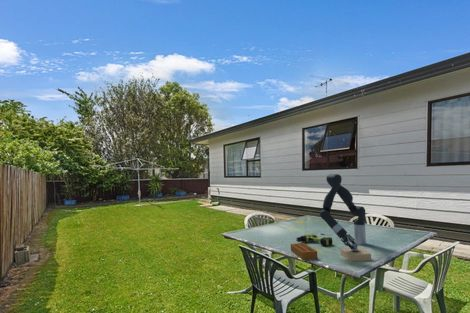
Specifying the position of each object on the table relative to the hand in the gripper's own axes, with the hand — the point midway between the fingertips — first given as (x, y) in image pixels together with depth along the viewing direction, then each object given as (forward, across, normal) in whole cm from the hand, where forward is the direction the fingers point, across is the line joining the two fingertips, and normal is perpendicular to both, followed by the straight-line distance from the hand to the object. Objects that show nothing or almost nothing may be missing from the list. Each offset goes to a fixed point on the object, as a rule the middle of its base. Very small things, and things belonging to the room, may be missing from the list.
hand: (355, 247), depth 211 cm
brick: (-19, -16, +30) cm, 40 cm away
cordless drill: (-25, +16, +36) cm, 46 cm away
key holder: (+5, 0, +5) cm, 7 cm away
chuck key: (+5, 0, +5) cm, 7 cm away
